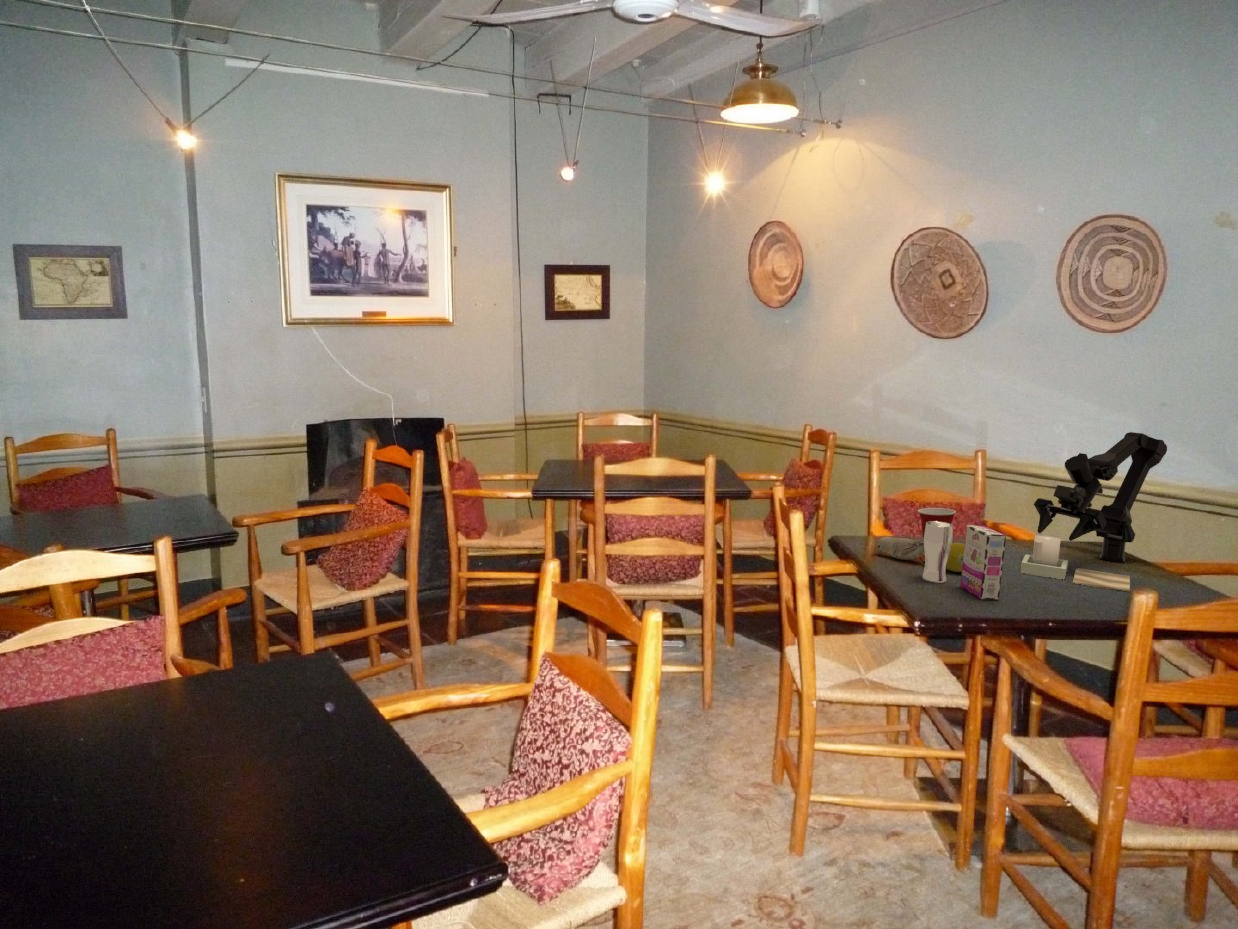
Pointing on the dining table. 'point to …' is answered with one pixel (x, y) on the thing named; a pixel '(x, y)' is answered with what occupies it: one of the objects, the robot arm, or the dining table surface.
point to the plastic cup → (935, 516)
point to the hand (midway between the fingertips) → (1053, 536)
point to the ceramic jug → (1046, 549)
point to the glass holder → (1044, 568)
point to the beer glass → (937, 550)
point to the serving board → (1102, 579)
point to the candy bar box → (983, 562)
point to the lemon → (956, 557)
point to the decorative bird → (901, 548)
